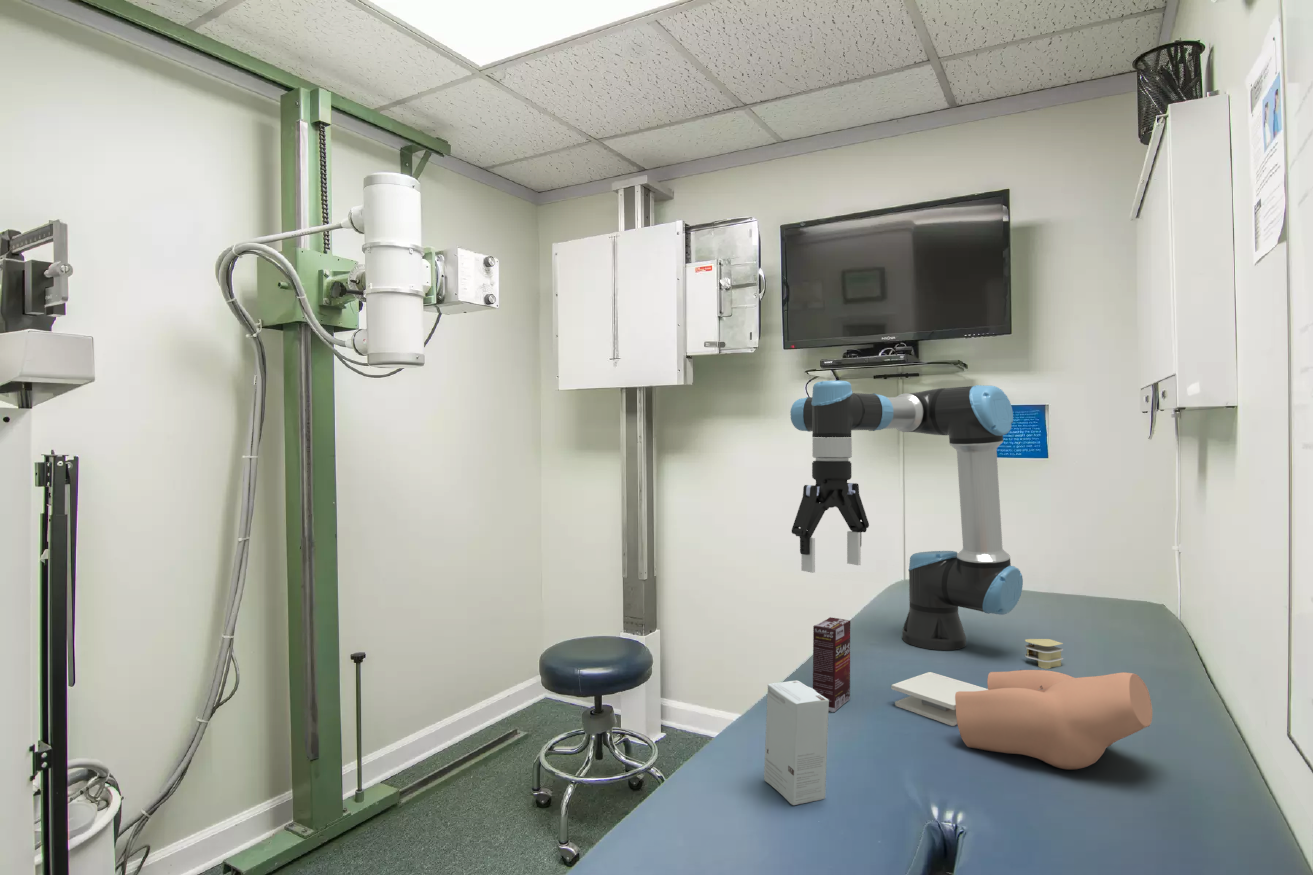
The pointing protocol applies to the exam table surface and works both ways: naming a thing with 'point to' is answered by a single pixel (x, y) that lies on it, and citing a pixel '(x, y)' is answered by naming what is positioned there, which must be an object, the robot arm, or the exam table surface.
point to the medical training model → (1053, 714)
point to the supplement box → (832, 661)
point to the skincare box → (796, 741)
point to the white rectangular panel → (932, 696)
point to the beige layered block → (1044, 652)
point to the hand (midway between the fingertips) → (831, 567)
